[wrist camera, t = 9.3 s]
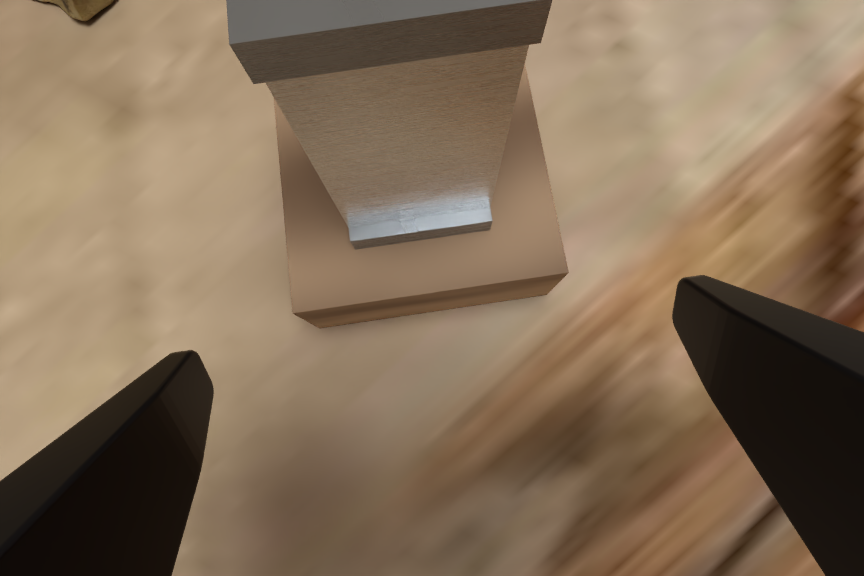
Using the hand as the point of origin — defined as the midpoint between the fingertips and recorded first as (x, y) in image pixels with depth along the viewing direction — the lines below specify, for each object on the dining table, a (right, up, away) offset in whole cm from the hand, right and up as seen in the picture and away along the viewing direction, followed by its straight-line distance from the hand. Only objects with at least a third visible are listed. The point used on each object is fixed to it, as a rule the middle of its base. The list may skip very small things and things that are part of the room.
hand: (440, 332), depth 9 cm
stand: (-1, +5, +14) cm, 14 cm away
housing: (-1, +6, +10) cm, 11 cm away
